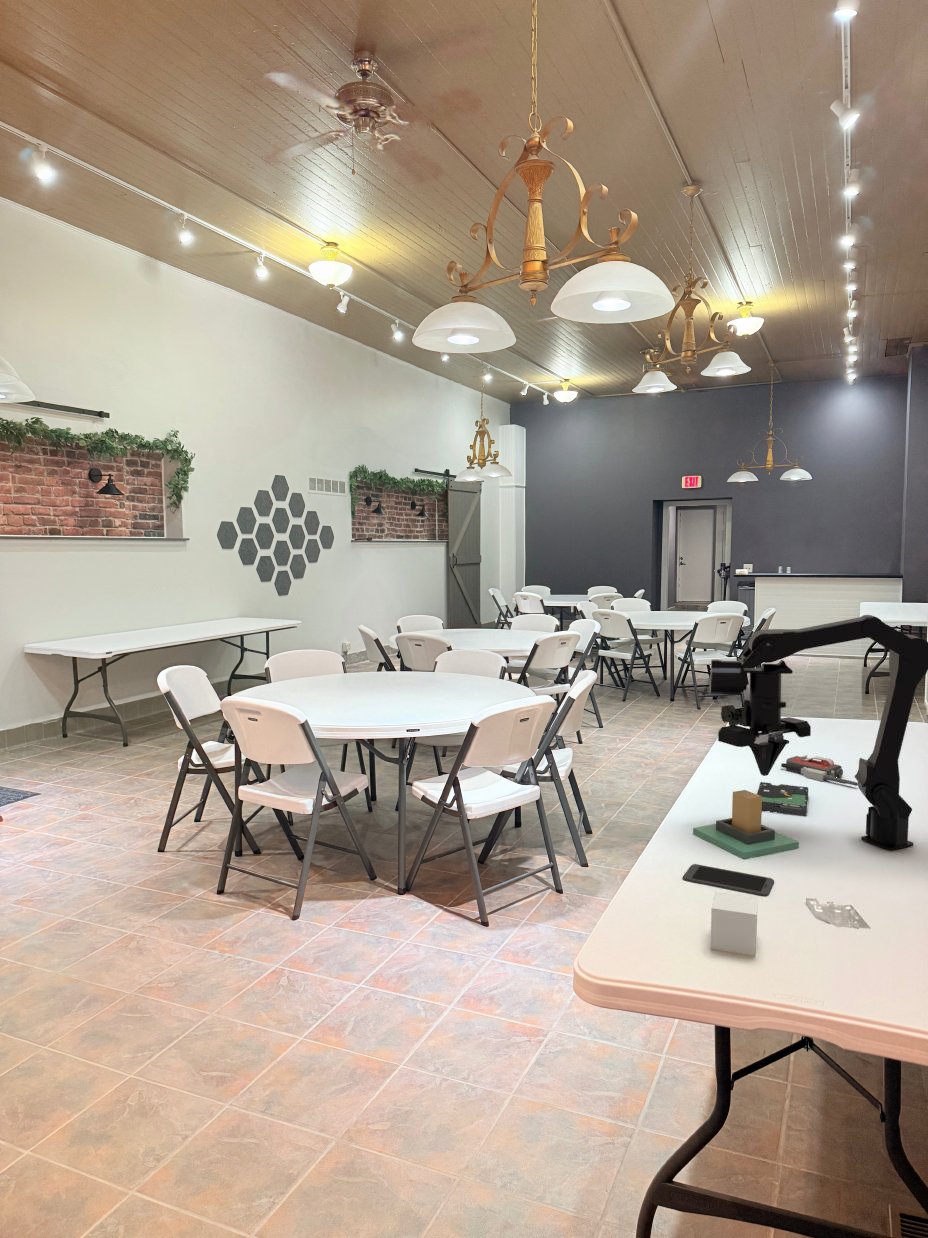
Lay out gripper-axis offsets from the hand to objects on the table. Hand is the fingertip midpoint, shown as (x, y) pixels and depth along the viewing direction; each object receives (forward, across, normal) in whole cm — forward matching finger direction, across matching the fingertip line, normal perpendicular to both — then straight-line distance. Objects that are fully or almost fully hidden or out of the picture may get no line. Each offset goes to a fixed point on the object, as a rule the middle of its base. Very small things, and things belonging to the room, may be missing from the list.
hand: (764, 775), depth 158 cm
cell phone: (+12, +22, +14) cm, 29 cm away
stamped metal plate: (+13, +16, +31) cm, 37 cm away
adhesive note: (+12, +36, +30) cm, 49 cm away
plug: (+10, +6, +2) cm, 12 cm away
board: (+12, +6, +1) cm, 13 cm away
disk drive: (+12, -18, -12) cm, 25 cm away
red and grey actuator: (+12, -42, -23) cm, 50 cm away
